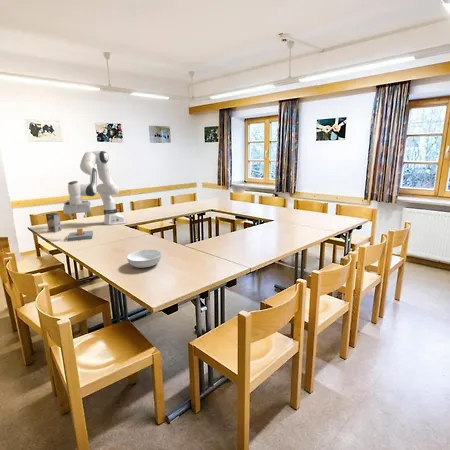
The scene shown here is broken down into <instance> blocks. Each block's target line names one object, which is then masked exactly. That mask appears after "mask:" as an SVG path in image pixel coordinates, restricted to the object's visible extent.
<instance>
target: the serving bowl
mask: <svg viewBox="0 0 450 450" xmlns="http://www.w3.org/2000/svg"><path fill="white" fill-rule="evenodd" d="M126 258H127V262H128V263H129V265H130V266H132V267H135V268H143V269H144V268H149V267H153V266H155V265H157V264H159V262H160V261H161V259H162V252H161V251H160V250H158V249H151V248H150V249H141V250H135V251H133V252H131V253H129V254H127V256H126Z"/></svg>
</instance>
